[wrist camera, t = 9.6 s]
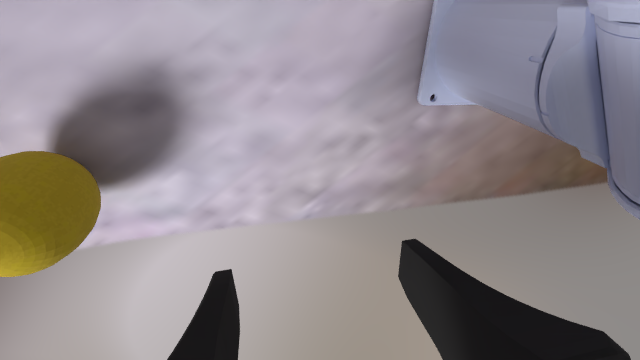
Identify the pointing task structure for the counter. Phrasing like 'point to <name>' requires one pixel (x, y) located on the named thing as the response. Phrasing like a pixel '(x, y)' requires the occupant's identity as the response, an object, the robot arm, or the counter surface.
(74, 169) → the lemon
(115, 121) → the counter surface
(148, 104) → the counter surface
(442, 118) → the counter surface
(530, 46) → the robot arm
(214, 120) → the counter surface
